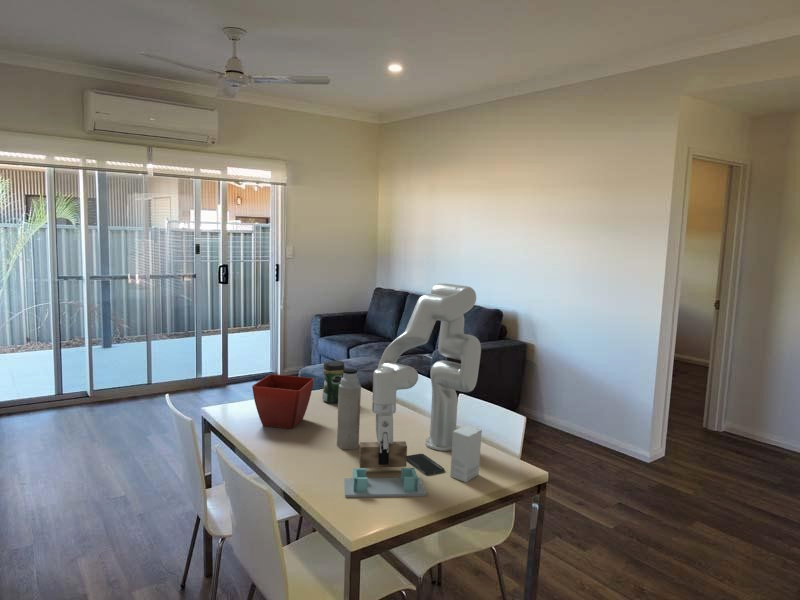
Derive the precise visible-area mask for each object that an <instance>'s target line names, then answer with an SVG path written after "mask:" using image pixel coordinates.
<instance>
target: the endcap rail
mask: <svg viewBox="0 0 800 600" xmlns="http://www.w3.org/2000/svg"><path fill="white" fill-rule="evenodd" d="M400 468H401V473H400V474H401V475H400V477H367V468H360V467H358V468H357V467H356V468H355V467H354V468H352V478H350V477H348V478H347V477H346V478H344V479H343V482H344V483H343V485H344V497H345V498H386V497H387V498H390V497H391V498H392V497H396V498H397V497H398V498H399V497H404V498H406V497H427V491H426V489H425V486H424V483H423V480H422V478H421V477H418V475H417V471H416V468H415V467H400Z"/></svg>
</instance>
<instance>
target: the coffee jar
mask: <svg viewBox="0 0 800 600" xmlns="http://www.w3.org/2000/svg"><path fill="white" fill-rule="evenodd" d="M344 369H346V368H345V363H344V361H343V360H330V361H329V360H328V361H327V360H326V361H324V363H323V368H322V370H323V374H324V380H323V381H324V382H323V389H322V390H323V391H322V401H323V402H325V403H329V404H331V403H332V404H333V403H334V404H336V403H338V393H339V384H341V382H340V381H341V378H343V375H344V372H343V370H344Z"/></svg>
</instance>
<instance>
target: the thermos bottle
mask: <svg viewBox="0 0 800 600" xmlns="http://www.w3.org/2000/svg"><path fill="white" fill-rule="evenodd" d="M343 372H344V374H343V378H341V381H340V382H341V384H339V393H338V402H337V429H336V431H337V432H336V446H337V448H339V449H344V450H353V449H357V448H359V447H360V422H361V421H360V419H361V399H362V398H361V397H362V395H361V394H362V393H361V392H362V385H361V384H360V379H359V378H360V377H358V373H357V372H358V370H357V369H355V368H345V369H344V370H343Z"/></svg>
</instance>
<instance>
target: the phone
mask: <svg viewBox="0 0 800 600" xmlns="http://www.w3.org/2000/svg"><path fill="white" fill-rule="evenodd" d="M407 463H408V464H409V465H410V466H412V468H414V469H415V470H418V471H419V472H420V473H421V474H423V475H424V476H431V475H436V474H437V475H438V474H442V473H445V468H444V467H443V466H442V465H440V464H438V463H437V462H436V461H434V459H433V460H432V459H431V458H430V457H428V456H427V455H425V454H424V453H416V454H410V455H407Z"/></svg>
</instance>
